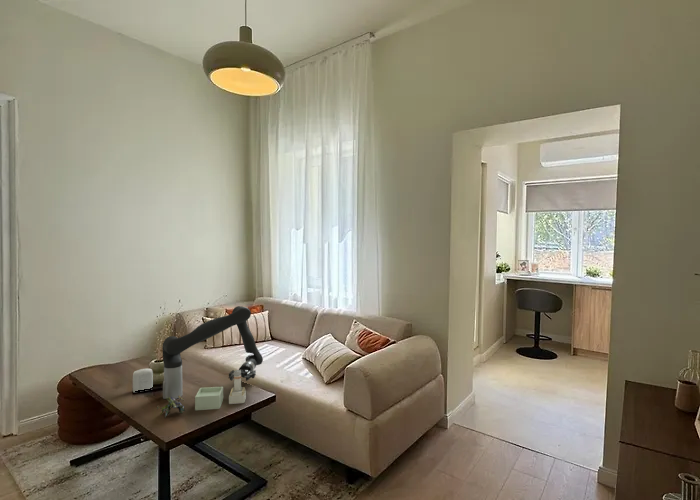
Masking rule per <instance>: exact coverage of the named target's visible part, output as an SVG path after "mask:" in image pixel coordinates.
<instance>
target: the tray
mask: <svg viewBox="0 0 700 500" xmlns="http://www.w3.org/2000/svg"><path fill="white" fill-rule="evenodd" d="M223 400H224V386H212V387H211V386H209V387H199V389H198V391H197V393H196V395H195V396H194V411H206V410H219V409H221V406H222V403H223Z"/></svg>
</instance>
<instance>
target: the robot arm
mask: <svg viewBox="0 0 700 500" xmlns="http://www.w3.org/2000/svg"><path fill="white" fill-rule="evenodd" d="M251 315H252V313H251V310H250V309H249V308H248V307H247V306H243V305H242V306H241V305H237V306H235V307H234V308H233V309H232V311H231V313H230V314H227V315H225V316H221V317H215V318H213V319H210V320H207V321H206V322H203V323H202V324H200V325H198V326H196V328H194V330H192V331H191V332H189V333H187V334H185V335H183V336H180V337H177V336H174V335H172V336H171V335H170V336H168V337H166V338H165V339H164V340H163V342H162V350H161V351H162V362H163V378H164V379H163V382H162V399H163V400H167V399H166V398H168V397H170V398H171V397H172V398H174V399H176V400H177V399H180V398H179V397H178V396H180V397H183V359H182V357H181V353H184V351H187V350H188V349H190V348H191V347H193V346H194V345H198V344H199V343H201V342H203V341H205V340H209V339H210V338H213V337H214V336H216V335H218V334H220V333H222V332H224V331H226V330H228V329H230V328H231V327H234V326H237V329H238V332H239V334H240V337H241V339H242V343H243V346H244V350H245V353H248V354H249V355H247V356H246V357H245V362H243V363H242V364H241V365H240V367H239V368H238V370H241V378H245V381H247V382H248V381H249V380H250V379H254V378H255V377H256V376H257V375H256V373H257V372H256V370H255V369H256V367H257V366H259V365H262V364H263V362H264V361H263V360H264V358H263V355H262V354H261V352H260V351H259V348H258V347H257V345H256V340H255V337H254V335H253V332H251V329H250V328H249V325H248V322H247V321H249V319H250V318H251ZM234 371H235V370H234V369H233V370H231V371H230V372H229V373H228V379H229V380H230V381H234Z"/></svg>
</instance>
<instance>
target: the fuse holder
mask: <svg viewBox="0 0 700 500" xmlns="http://www.w3.org/2000/svg"><path fill="white" fill-rule="evenodd" d="M246 398H247V389H246V388H245V386H243V387H242V386H241V392H234V387H232V388H231V389H230V393H229V395H228V404H229V405H233V404H234V405H235V404H236V405H237V404H245V402H246Z"/></svg>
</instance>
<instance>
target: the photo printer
mask: <svg viewBox="0 0 700 500" xmlns="http://www.w3.org/2000/svg"><path fill="white" fill-rule="evenodd" d="M153 376H154V371H153V369H152V368H140V369H137V370H134V372H133V373H132V392H133V393H136V392H135V391H138V390H144V389H150V388H152V387H153V385H154V381H153V380H154V377H153Z"/></svg>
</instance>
